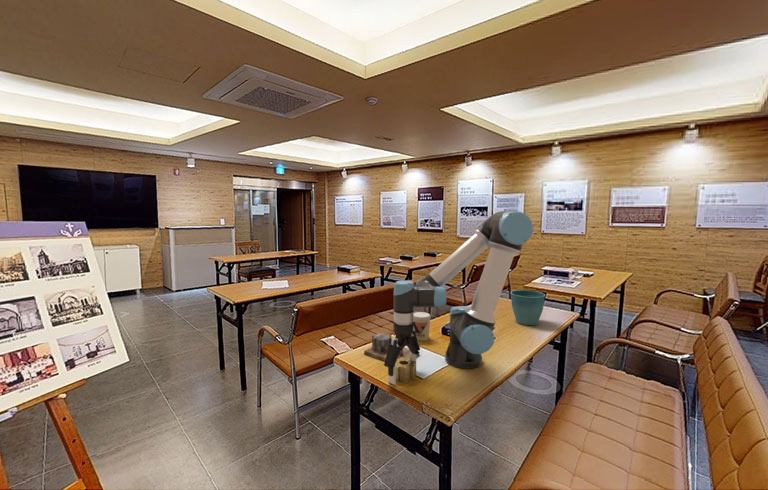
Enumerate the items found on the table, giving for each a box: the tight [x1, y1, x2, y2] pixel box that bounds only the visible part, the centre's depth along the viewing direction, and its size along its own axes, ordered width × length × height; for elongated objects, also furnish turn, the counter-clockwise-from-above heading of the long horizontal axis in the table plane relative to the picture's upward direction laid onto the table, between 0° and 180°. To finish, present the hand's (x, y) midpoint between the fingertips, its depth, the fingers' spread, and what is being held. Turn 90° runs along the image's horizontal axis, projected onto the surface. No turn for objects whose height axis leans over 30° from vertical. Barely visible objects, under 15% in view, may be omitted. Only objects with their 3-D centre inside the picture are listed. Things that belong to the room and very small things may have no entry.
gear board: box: [363, 332, 421, 362], centre depth 145 cm, size 20×14×8 cm
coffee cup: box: [413, 311, 431, 342], centre depth 165 cm, size 9×9×12 cm
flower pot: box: [510, 289, 546, 326], centre depth 188 cm, size 18×18×17 cm
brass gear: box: [395, 357, 417, 384], centre depth 125 cm, size 9×9×6 cm
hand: (402, 376), depth 125 cm, fingers open, 13 cm apart
